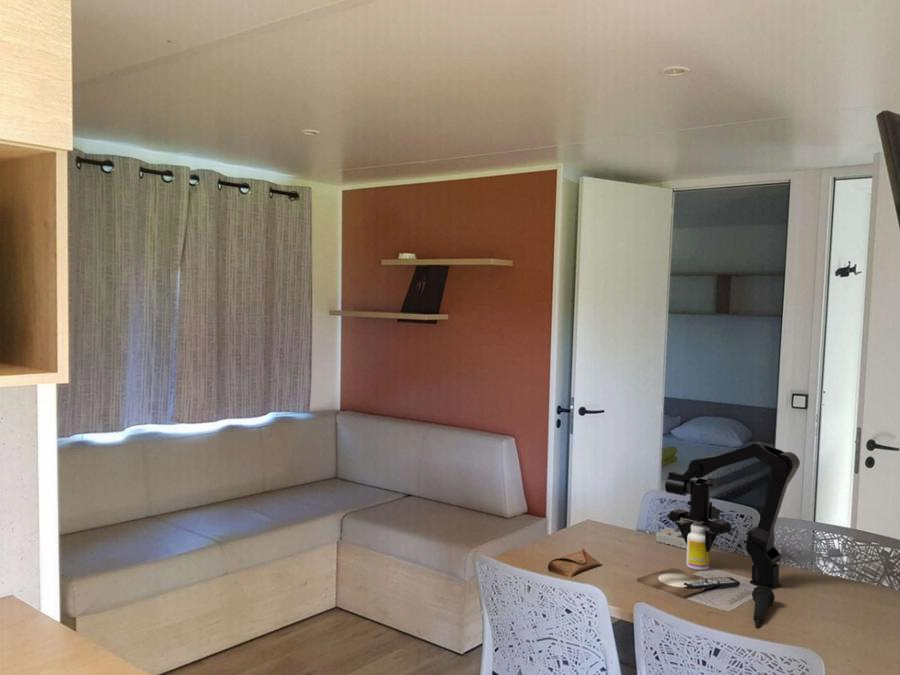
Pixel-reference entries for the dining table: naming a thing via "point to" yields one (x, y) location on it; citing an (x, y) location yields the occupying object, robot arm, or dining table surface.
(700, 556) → the supplement bottle
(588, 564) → the sunglasses case
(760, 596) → the microphone
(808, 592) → the dining table surface
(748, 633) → the dining table surface
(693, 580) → the brown flat square board
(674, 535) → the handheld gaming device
